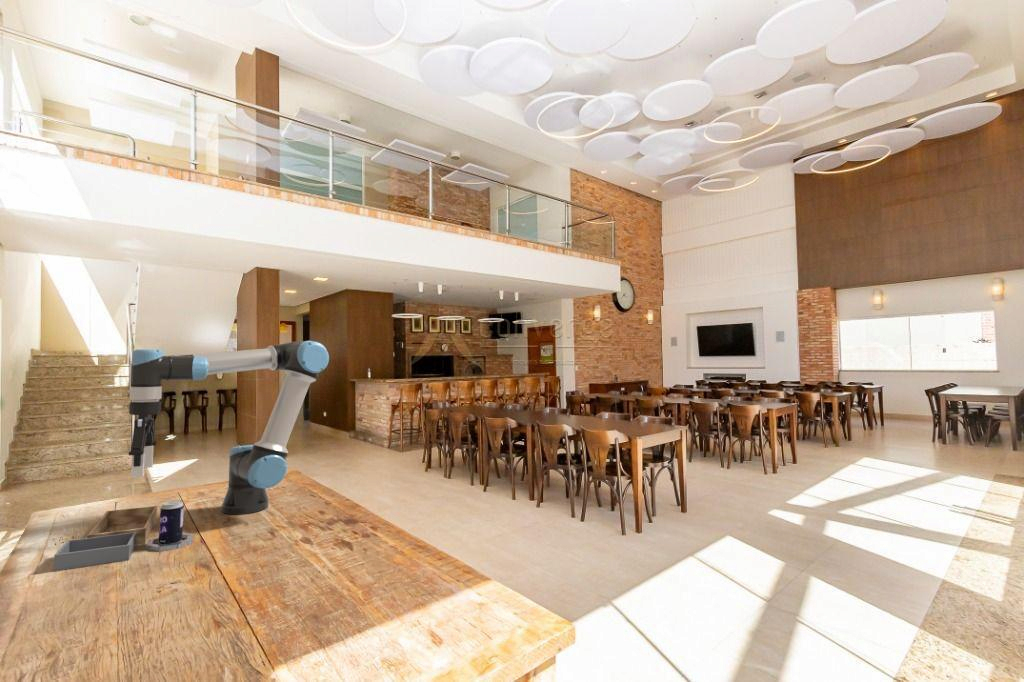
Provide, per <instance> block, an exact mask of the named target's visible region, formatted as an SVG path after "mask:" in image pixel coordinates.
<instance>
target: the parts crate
mask: <svg viewBox="0 0 1024 682" xmlns="http://www.w3.org/2000/svg"><path fill="white" fill-rule="evenodd" d="M157 517H158V505H153V506H152V505H151V506H144V507H135V508H134V507H133V508H125V509H115V510H106V512H105V513H104V514H103V516H102V517H101V518H100V519H99V520H98V522H97V523H96V524H95V526H94V527H93V528H92V529H91V530H90V532H89V533H88V534H87V536H86V538H92V537H100V536H108V535H116V534H124V533H132V532H137V536H136V546H138V545H145V544H147V543H146V542H147V541H148V539H149V536H150V534H151V533H152V529H153V528H154V525H155V523H156V521H157ZM140 522H141V523H142V522H146V523H145V525H144V526H143V527H141V528H133V529H124V530H123V529H122V530H116V531H108V532H105V530H106V529H107V528H108V527H109V526H114V525H116V526H117V525H123V524H132V523H133V524H134V523H140Z"/></svg>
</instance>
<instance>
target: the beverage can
mask: <svg viewBox="0 0 1024 682" xmlns="http://www.w3.org/2000/svg"><path fill="white" fill-rule="evenodd" d="M161 504H162V505H161V507H160V512H159V527H158V536H159V542H158V544H159V545H166V544H174V543H178V542H180V541H182V540H183V538H182V532H183V527H184V526H183V525H184V511H185V510H184V507H185V506H184V503H183V500H182V499H181V500H180V499H178V500H177V499H174V500H168V501H164V502H163V503H161Z"/></svg>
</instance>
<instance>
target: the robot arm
mask: <svg viewBox="0 0 1024 682" xmlns="http://www.w3.org/2000/svg"><path fill="white" fill-rule="evenodd" d="M329 360H330V355H329V352H328V350H327V348H326V347H325V346H324V344H322V343H320V342H318V341H314V340H305V341H304V340H303V341H302V340H301V341H290V342H285V343H282V344H273V345H268V346H267V348H257V349H245V350H231V351H221V352H219V351H218V352H207V353H193V354H182V355H180V354H179V355H175V354H174V355H173V354H172V355H165V354H164V350H162V349H143V348H142V349H139V348H138V349H135V350H134V351H132V357H131V363H130V389H127V393H128V394H129V400H131V401H130V402H129V404H128V405H129V407H128V414H129V415H130V416H137V419H135V420H134V421H133V422H134V423H133V424H134V426H133V432H132V434H133V435H132V440H131V446H130V451H128V456H131V469H130V470H131V471H130V473H131V474H130V479H137V478H140V479H141V478H144V474H145V473H144V470H145V469H147V468H153V465H154V464H153V463H154V446H157V441H156V437H155V436H156V435H155V415H157V414H160V413H161V410H162V401H160V400H162V398H163V397H162V394H163V381H198V380H200V381H201V380H205V379H206V378H207V376H209V375H217V374H218V375H219V374H228V373H236V372H237V373H238V372H247V371H256V370H265V369H269V370H271V371H281V370H282V371H283V372H284V374H285V379H284V382H283V384H282V385H281V389H280V391H279V393H278V397H277V399H276V401H275V404H274V405H273V406H274V407H273V409H272V411H271V413H270V416H269V419H268V422H267V424H266V426H265V429H264V431H263V434H262V436H261V439H260V440H259V441H257V442H254V444H247V445H245V444H244V445H239V446H234V447H231V449H230V452H229V457H228V458H229V465H228V466H229V469H228V486H227V491H226V493H225V496H224V498H223V501H222V504H221V512H222V513H224V514H226V515H245V514H246V515H248V514H252V513H256V512H257V513H258V512H261V511H263V510H265V509H267V508H268V507H269V504H270V503H269V496H268V494H267V490H266V489H270V488H273V487H275V486H276V485H279V484H280V483H281V482H282V481H283V480H284V478H285V476H286V474H287V471H288V464H287V462H286V459H287V458H288V457H287V456H288V454H289V450H288V449H287V444H288V442H289V438H290V436H291V433H292V431H293V429H294V426H295V425H296V424H295V423H296V421H297V420H298V419H297V418H298V415H299V413H300V411H301V408H302V405H303V403H304V401H305V397H306V395H307V393H308V391H309V387H310V385H311V384H312V383H314V382H316V381H317V379H318V377H319V374H320V373H321V372H322V371H324V370H325V369H326V368H327V366H328V364H329V362H330V361H329Z"/></svg>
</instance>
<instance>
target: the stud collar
mask: <svg viewBox="0 0 1024 682" xmlns="http://www.w3.org/2000/svg"><path fill="white" fill-rule="evenodd" d="M183 539H184V540H183ZM193 540H194V533H192V532H191V533H190V532H189V533H188V532H183V531H182V540H180V541H179V542H178V543H174V544H166V545H161V544H158V543H159V535H157V536H155V537H152V538H150V539H147V541H146V542H147V543H145V544H146V545H145V549H146V550H147V551H153V552H162V551H163V552H164V551H171V550H177V549H180V548H182V547H185V546H188V545H191V544H192V543H193Z"/></svg>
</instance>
